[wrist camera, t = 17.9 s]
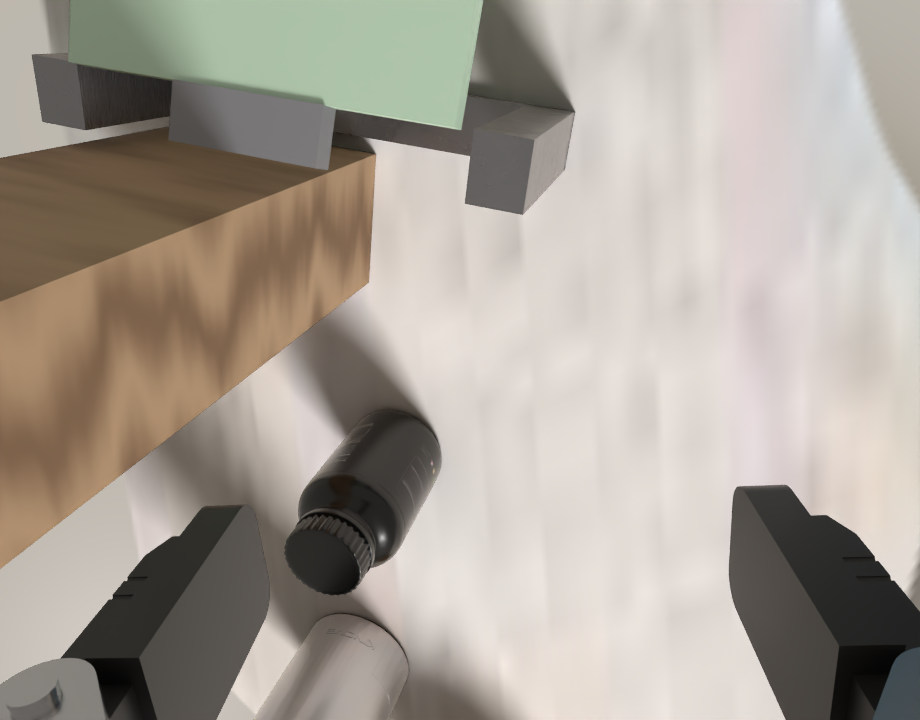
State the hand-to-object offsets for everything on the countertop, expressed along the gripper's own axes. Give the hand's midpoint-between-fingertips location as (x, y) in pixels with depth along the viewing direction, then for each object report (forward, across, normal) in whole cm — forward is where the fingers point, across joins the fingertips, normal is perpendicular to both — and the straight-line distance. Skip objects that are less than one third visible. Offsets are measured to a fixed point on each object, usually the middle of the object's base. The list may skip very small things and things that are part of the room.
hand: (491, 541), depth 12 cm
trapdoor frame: (+31, -8, +8) cm, 33 cm away
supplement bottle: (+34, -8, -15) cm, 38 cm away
